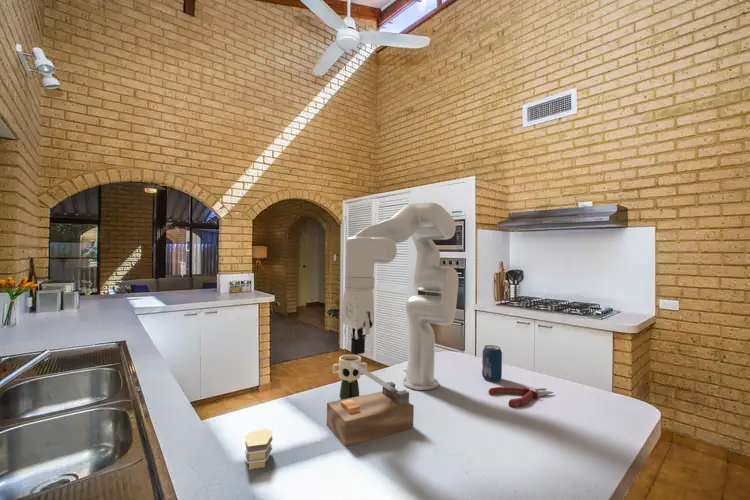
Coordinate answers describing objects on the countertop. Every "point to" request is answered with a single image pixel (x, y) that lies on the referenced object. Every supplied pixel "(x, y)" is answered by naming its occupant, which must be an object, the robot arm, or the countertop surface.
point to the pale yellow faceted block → (258, 447)
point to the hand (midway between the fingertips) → (357, 353)
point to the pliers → (520, 391)
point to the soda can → (492, 363)
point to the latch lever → (373, 377)
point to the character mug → (349, 375)
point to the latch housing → (370, 415)
